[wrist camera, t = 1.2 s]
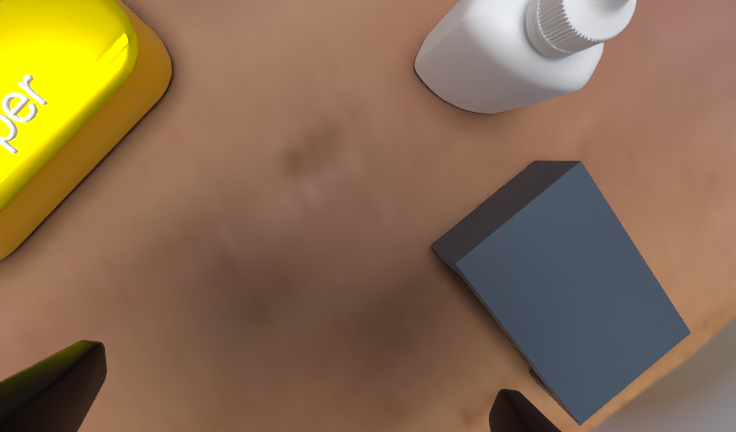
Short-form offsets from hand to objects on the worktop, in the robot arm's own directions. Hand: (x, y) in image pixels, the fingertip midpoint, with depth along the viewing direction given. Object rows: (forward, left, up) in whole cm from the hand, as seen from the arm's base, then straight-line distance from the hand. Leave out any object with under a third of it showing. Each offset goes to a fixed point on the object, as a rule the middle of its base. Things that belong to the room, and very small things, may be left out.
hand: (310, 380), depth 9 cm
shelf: (-4, -13, -13) cm, 19 cm away
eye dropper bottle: (+8, -10, -13) cm, 18 cm away
